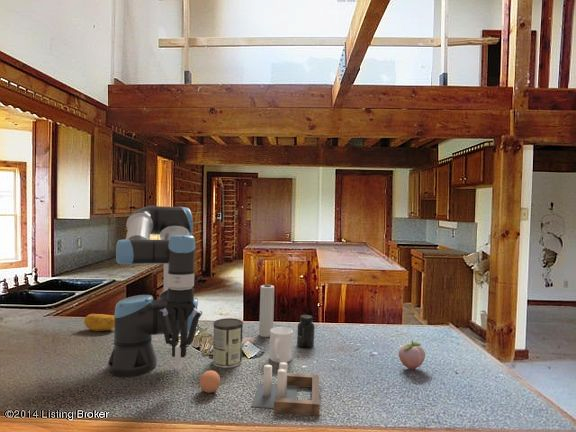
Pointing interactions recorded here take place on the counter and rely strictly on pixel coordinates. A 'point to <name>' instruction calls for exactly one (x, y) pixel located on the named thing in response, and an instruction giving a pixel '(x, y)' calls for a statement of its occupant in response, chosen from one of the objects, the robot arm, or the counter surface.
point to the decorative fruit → (411, 355)
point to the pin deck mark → (268, 402)
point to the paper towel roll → (266, 310)
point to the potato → (99, 322)
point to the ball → (209, 381)
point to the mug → (281, 344)
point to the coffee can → (227, 342)
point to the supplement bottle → (305, 332)
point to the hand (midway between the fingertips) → (178, 367)
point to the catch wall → (298, 404)
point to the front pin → (267, 380)
